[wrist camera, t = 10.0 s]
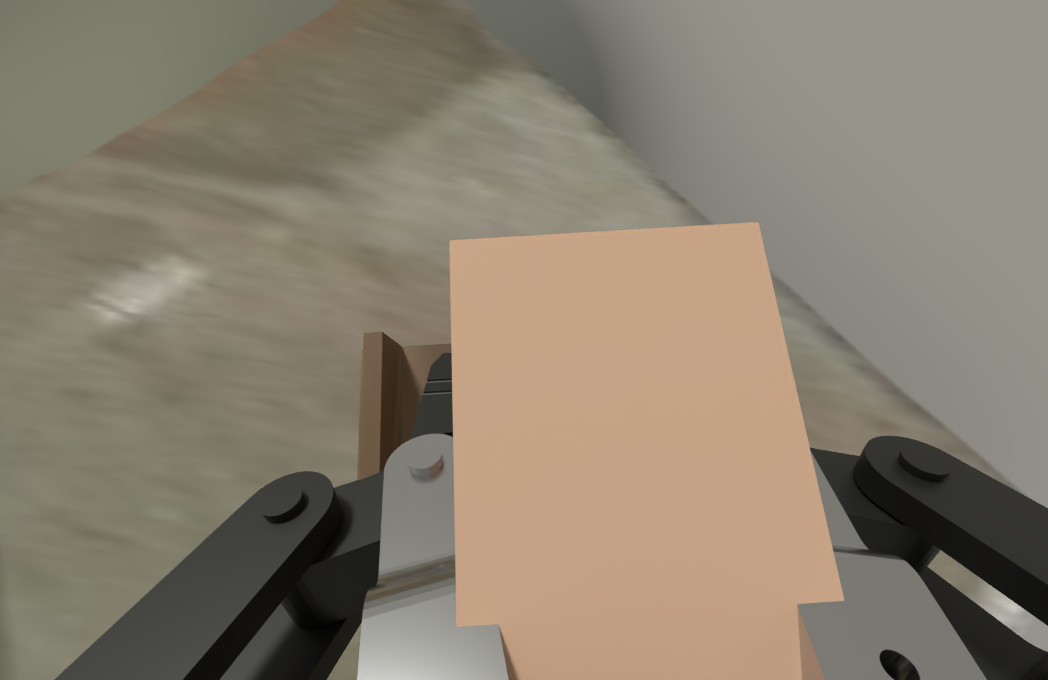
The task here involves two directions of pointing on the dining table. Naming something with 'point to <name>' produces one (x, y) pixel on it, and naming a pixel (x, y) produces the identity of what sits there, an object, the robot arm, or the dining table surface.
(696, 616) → the clay block
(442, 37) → the dining table surface
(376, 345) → the walnut rack
